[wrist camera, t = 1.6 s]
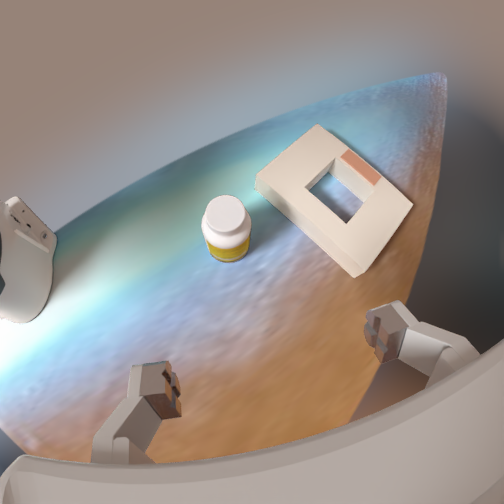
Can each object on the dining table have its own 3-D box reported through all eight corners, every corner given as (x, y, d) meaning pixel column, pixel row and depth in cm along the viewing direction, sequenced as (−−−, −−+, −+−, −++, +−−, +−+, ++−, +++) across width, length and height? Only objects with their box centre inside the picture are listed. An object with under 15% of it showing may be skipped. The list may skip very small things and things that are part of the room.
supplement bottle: (256, 254, 38) (261, 226, 28) (217, 270, 37) (209, 248, 28) (239, 217, 39) (239, 181, 30) (201, 233, 38) (189, 200, 29)
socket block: (254, 189, 40) (256, 173, 36) (311, 139, 43) (317, 122, 39) (353, 278, 37) (366, 271, 33) (400, 215, 40) (414, 203, 36)
